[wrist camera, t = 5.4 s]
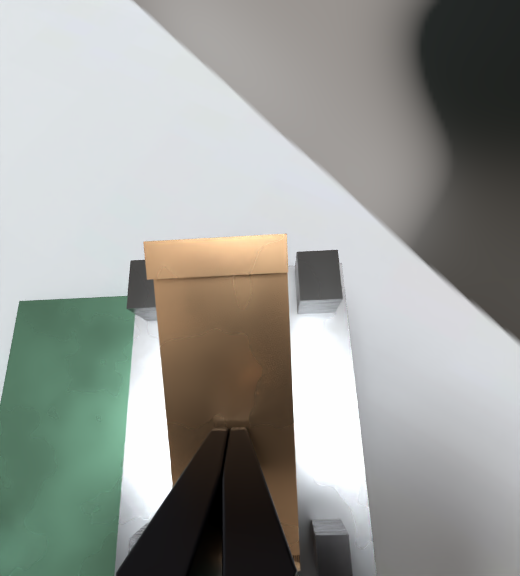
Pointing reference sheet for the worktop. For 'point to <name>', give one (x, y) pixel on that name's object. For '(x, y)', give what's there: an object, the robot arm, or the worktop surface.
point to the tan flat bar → (228, 353)
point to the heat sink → (161, 430)
